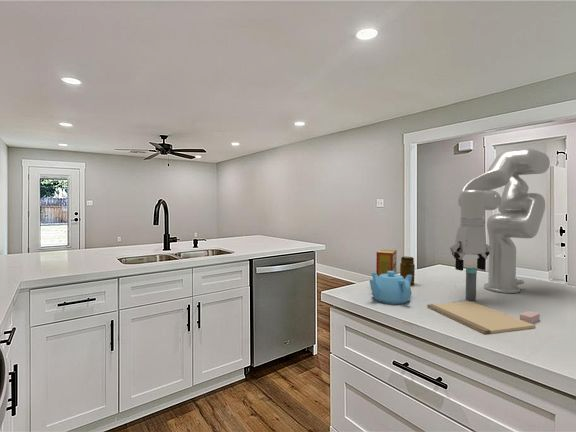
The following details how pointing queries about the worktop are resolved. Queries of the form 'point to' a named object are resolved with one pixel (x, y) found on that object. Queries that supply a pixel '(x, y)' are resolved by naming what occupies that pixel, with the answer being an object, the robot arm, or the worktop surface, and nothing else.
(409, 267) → the condiment
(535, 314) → the eraser
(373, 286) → the teapot
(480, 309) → the notepad
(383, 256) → the baking soda box
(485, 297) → the worktop surface
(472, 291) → the marker
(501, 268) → the robot arm
